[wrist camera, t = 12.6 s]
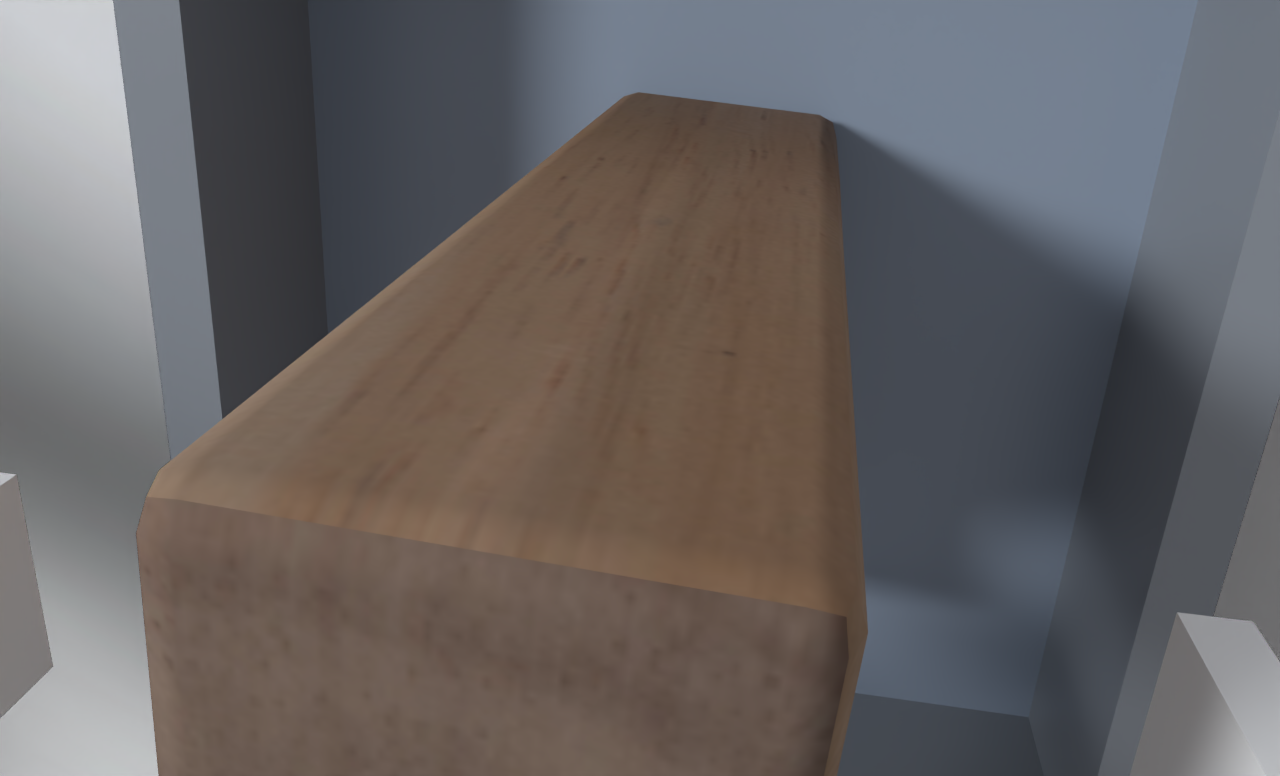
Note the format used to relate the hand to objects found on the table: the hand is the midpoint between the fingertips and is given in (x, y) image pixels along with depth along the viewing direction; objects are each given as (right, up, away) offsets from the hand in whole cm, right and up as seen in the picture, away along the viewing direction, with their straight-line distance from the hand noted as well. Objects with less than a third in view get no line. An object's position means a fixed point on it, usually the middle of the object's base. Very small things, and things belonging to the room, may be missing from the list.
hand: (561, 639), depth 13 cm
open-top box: (+2, +5, +13) cm, 14 cm away
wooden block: (+2, +5, +12) cm, 13 cm away
